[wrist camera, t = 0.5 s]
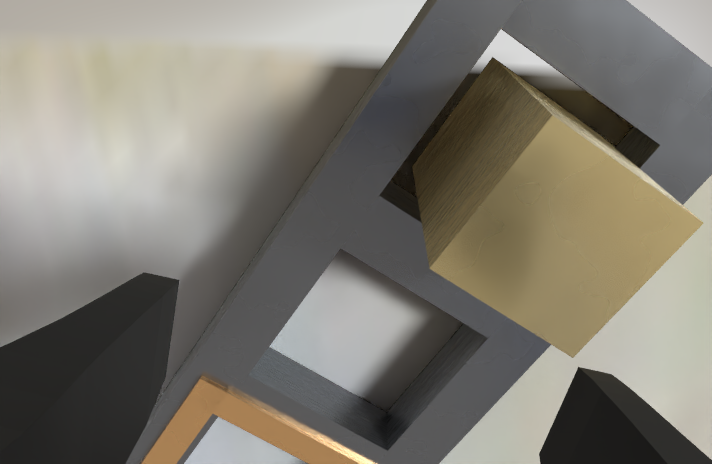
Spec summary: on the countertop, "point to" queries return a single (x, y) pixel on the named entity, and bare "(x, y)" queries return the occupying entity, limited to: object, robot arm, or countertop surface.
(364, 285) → the countertop surface
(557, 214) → the tan rectangular block
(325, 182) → the grey rectangular frame
